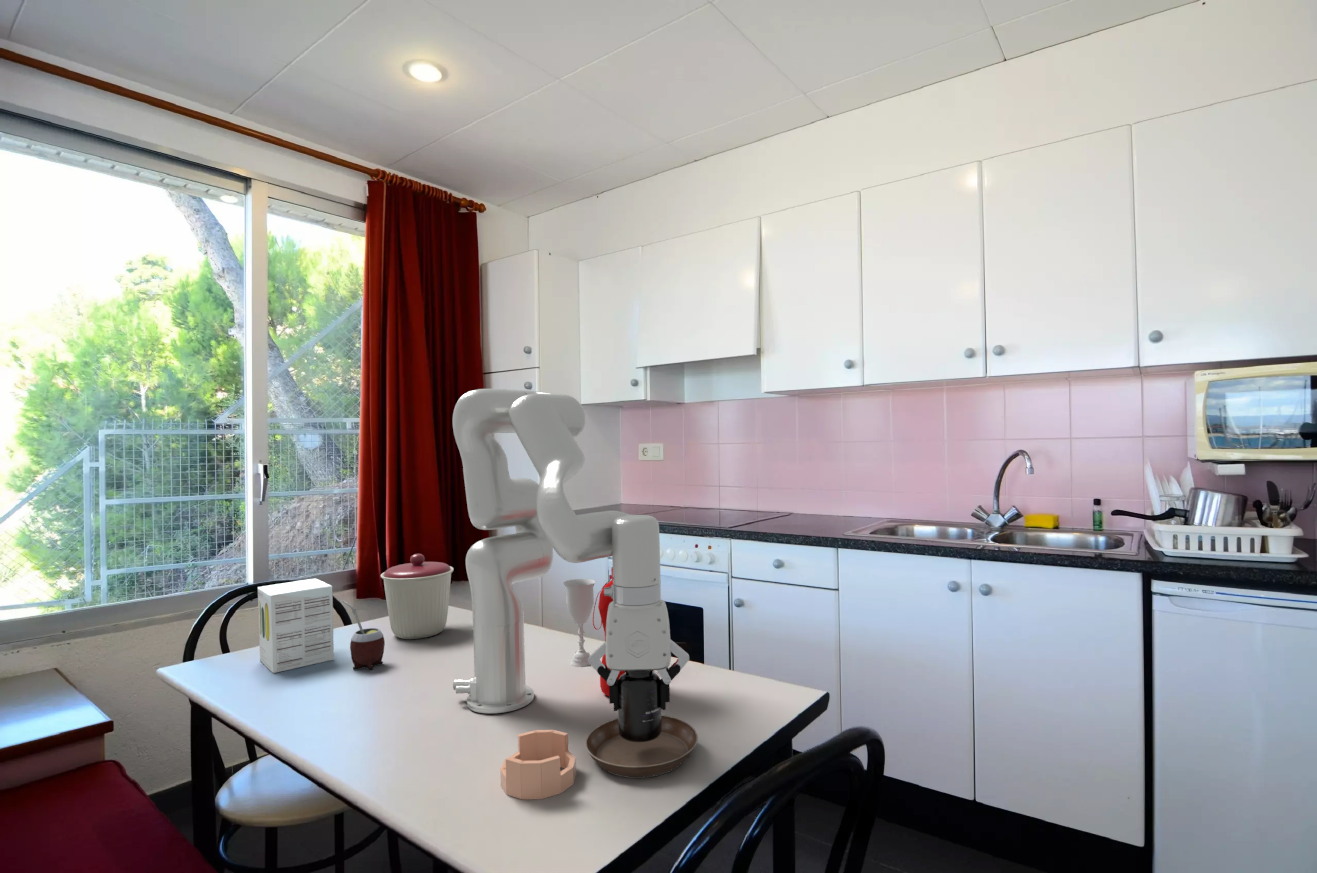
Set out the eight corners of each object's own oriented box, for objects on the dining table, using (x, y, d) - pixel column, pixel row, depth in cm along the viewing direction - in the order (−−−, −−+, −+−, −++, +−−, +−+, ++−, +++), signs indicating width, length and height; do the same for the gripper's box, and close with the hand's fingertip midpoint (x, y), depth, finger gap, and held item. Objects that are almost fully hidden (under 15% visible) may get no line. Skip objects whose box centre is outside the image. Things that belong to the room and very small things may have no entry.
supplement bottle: (657, 745, 101) (655, 665, 101) (613, 742, 102) (611, 664, 103) (665, 726, 108) (663, 651, 108) (625, 723, 109) (622, 650, 109)
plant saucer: (608, 797, 94) (607, 775, 94) (572, 745, 110) (571, 726, 110) (718, 768, 101) (718, 748, 101) (669, 723, 117) (669, 706, 117)
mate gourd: (388, 667, 150) (386, 600, 150) (349, 675, 145) (348, 606, 146) (380, 658, 156) (379, 594, 156) (343, 666, 152) (342, 600, 152)
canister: (367, 643, 168) (365, 560, 168) (406, 623, 186) (404, 548, 186) (434, 645, 165) (431, 560, 165) (467, 624, 183) (464, 548, 183)
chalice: (604, 660, 150) (601, 580, 150) (585, 670, 145) (582, 587, 145) (578, 655, 154) (576, 577, 154) (559, 664, 148) (556, 583, 148)
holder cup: (493, 800, 93) (492, 764, 93) (511, 763, 104) (510, 730, 104) (569, 798, 93) (568, 762, 93) (579, 761, 104) (578, 729, 104)
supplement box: (258, 660, 157) (256, 586, 157) (318, 647, 166) (316, 577, 166) (272, 674, 148) (269, 595, 148) (335, 659, 156) (333, 585, 156)
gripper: (579, 601, 102) (582, 718, 102) (693, 598, 101) (696, 716, 102) (585, 590, 109) (587, 699, 109) (691, 587, 109) (693, 696, 109)
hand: (640, 706), depth 105 cm, fingers closed on supplement bottle, 6 cm apart
